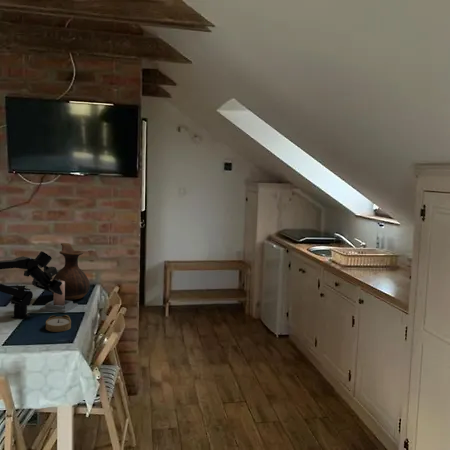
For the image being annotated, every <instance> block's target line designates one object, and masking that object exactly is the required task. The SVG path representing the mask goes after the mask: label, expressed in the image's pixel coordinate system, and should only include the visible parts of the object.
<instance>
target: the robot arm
mask: <svg viewBox="0 0 450 450" xmlns="http://www.w3.org/2000/svg"><path fill="white" fill-rule="evenodd" d="M52 259H53V258H52V256H51V255H49V254H48V253H45V251H43V250H41V251H40V252H39V253H38V254H37V256H36V257H35V258H32V257H28V256H24V255H23V256H18V257H16V258H14V259H5V260H0V270H7V269H8V270H9V269H22V270H23V271H24V272H23V276H24V277H31V278H32V282H31V284H32V286H33V287H36V288H37V289H38V288H39V289H40V290H44V291H47V292H51V293H52V292H54V293H57V294H60V295H62V294H63V293H62V291H61V289H60V286H61V284H62V282H61V281H60V280H57V279H55V280H53V277H54V276H55V275H56V274H57V273H58V271H59V270H57V266H48V264H49V263H50V262H51V261H52ZM42 269H43V270H42ZM52 280H53V281H52ZM0 292H1V293H3V294H7V295H10V296H12V297H11V298H10V299H9V300H10V304H12V305H13V315H12V316H10V318H11V319H22V320H23V319H25V318H27V317H29V316H30V315H31V314H30V313H28V306H30V305H31V301H32V299H33V297H34V296H33V295H34V294H33V291H31V288H27V287H25V286H22V285H17V284H16V286H15V287H12V286H9V285H7V284H3V283H0Z"/></svg>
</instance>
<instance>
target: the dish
mask: <svg viewBox="0 0 450 450" xmlns="http://www.w3.org/2000/svg"><path fill="white" fill-rule="evenodd" d="M78 305H79V304H78V303H76V302H75V303H74V300H65V305H64V306H59V305H54V299H53V300H51V301H49V302H46V303H45V305H43V306H41V307H39V308H40V309H39V311H44V312H54V313H62V314H63V313H64V314H65V313H68V312H69V311H71V310H72V309H75V308H77V307H78Z"/></svg>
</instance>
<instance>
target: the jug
mask: <svg viewBox="0 0 450 450" xmlns="http://www.w3.org/2000/svg"><path fill="white" fill-rule="evenodd" d="M60 245H61V251H59V254H60V255H62V256H63V257H64V265H63V267H62V268H60V269H59V270H57V271H58V273H57V274H55V275H54V276H53V277H52V279H51V281H53V280H55V279H57V280H59V279H60V281H65V301H74V300H81V299H82V298H84V297H85V296H86V295H87V294H88V293H89V291H90V289H91V284H90V280H89V277H87V275H86V273H85V272H84V271H83V270H82V269H81V268H80V267H79V264H78V263H79V261H78V260H79V257H80V256H82V255H83V254H84V252H83V251H82V250H74V248H73V246H72V244H71V243H70V242H69V243H67V242H66V243H65V242H61V243H60ZM51 294H52V295H53V296H54V292H51Z"/></svg>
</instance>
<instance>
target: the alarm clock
mask: <svg viewBox="0 0 450 450" xmlns="http://www.w3.org/2000/svg"><path fill="white" fill-rule="evenodd" d="M71 328H72V320H71V317H70V315H67V314H64V315H59V316H58V315H57V316H56V315H51V316H49V317H48V318H47V319H46V321H45V330H46V331H49V332H52V333H53V332H54V333H55V332H56V333H59V332H67V331H68V330H70V329H71Z"/></svg>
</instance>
